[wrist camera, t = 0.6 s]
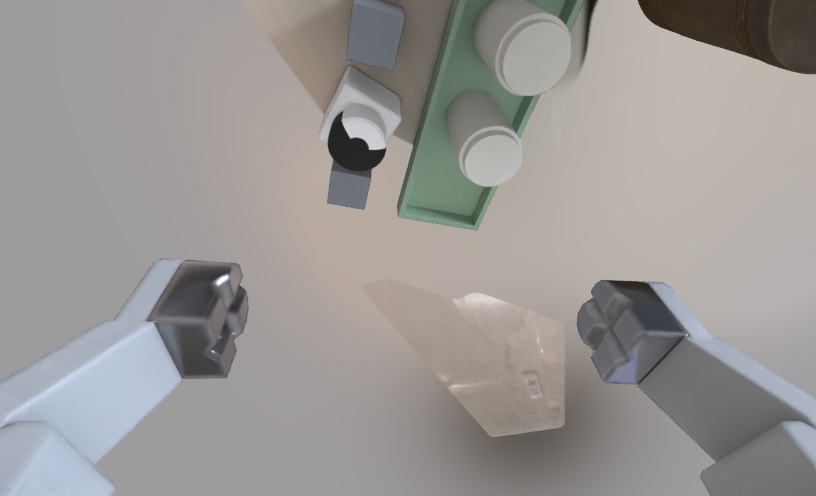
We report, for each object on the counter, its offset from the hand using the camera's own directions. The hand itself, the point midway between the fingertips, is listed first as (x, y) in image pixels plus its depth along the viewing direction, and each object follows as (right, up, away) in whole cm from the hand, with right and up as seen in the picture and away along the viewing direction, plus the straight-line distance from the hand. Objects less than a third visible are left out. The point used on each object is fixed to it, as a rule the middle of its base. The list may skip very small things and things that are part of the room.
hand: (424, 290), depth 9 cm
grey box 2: (-4, +26, +33) cm, 42 cm away
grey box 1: (-8, +12, +44) cm, 46 cm away
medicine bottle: (-6, +19, +39) cm, 43 cm away
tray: (+8, +18, +40) cm, 45 cm away
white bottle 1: (+8, +18, +39) cm, 44 cm away
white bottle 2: (+10, +25, +33) cm, 43 cm away
